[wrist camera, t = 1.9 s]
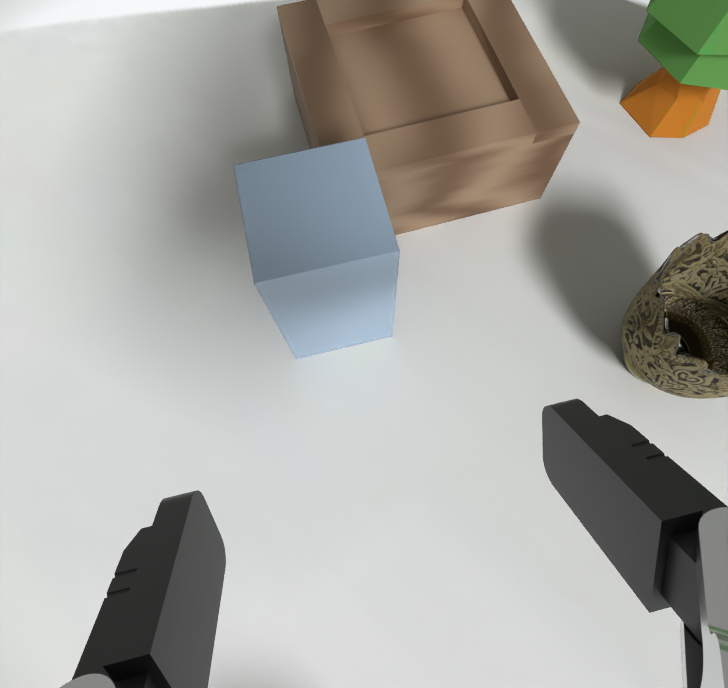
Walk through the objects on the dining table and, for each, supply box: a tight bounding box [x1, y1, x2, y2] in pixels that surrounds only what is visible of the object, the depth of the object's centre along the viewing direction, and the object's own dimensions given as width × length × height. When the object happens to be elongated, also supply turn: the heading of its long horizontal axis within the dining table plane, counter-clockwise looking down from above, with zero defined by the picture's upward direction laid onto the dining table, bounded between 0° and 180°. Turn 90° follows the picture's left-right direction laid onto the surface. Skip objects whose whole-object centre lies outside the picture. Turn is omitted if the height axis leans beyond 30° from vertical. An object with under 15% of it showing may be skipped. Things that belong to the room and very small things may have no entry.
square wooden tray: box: [277, 0, 580, 235], centre depth 30 cm, size 14×14×7 cm
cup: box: [621, 231, 728, 398], centre depth 23 cm, size 8×7×8 cm
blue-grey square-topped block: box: [234, 138, 400, 359], centre depth 24 cm, size 6×6×10 cm
